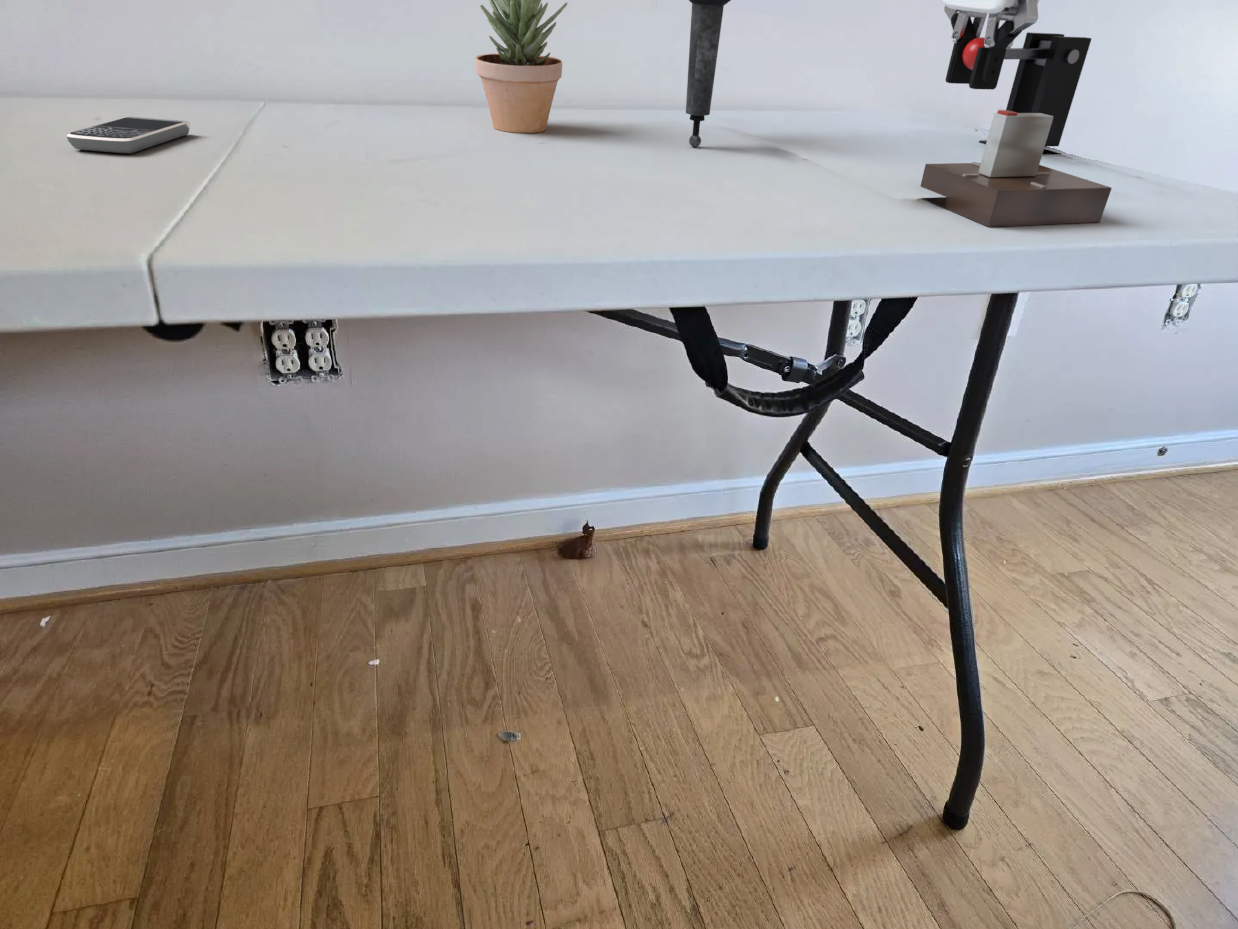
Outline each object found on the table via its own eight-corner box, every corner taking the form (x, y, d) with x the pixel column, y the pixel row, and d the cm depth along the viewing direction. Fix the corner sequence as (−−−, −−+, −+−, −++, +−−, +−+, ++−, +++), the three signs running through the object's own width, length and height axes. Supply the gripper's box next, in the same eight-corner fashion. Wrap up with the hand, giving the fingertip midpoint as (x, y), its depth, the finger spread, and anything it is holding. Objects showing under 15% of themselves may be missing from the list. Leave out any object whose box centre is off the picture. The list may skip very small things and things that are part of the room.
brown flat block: (1021, 193, 83) (1031, 160, 81) (1100, 222, 75) (1113, 185, 73) (917, 196, 79) (925, 161, 78) (988, 227, 71) (999, 188, 70)
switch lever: (972, 72, 90) (979, 38, 89) (953, 68, 93) (960, 35, 91) (1070, 70, 94) (1079, 38, 92) (1049, 67, 97) (1057, 35, 95)
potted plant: (481, 135, 93) (473, -141, 80) (474, 119, 101) (466, -134, 88) (571, 136, 95) (578, -132, 82) (557, 121, 103) (561, -126, 90)
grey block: (1023, 172, 77) (1041, 109, 74) (1036, 176, 75) (1055, 113, 73) (977, 173, 75) (994, 109, 72) (989, 177, 74) (1007, 112, 71)
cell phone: (64, 151, 76) (60, 134, 75) (137, 129, 86) (133, 114, 85) (130, 156, 76) (126, 140, 75) (196, 134, 85) (193, 119, 84)
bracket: (1016, 163, 96) (1052, 37, 89) (976, 150, 101) (1007, 30, 95) (1072, 162, 98) (1112, 39, 92) (1030, 150, 104) (1064, 33, 97)
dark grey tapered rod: (654, 147, 92) (670, -70, 82) (675, 138, 98) (692, -67, 87) (715, 156, 90) (738, -66, 80) (733, 145, 96) (757, -64, 85)
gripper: (937, -118, 89) (897, 74, 98) (1051, -125, 76) (991, 97, 85) (996, -112, 91) (951, 75, 101) (1116, -117, 78) (1051, 98, 87)
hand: (970, 83), depth 93 cm, fingers closed on switch lever, 3 cm apart
